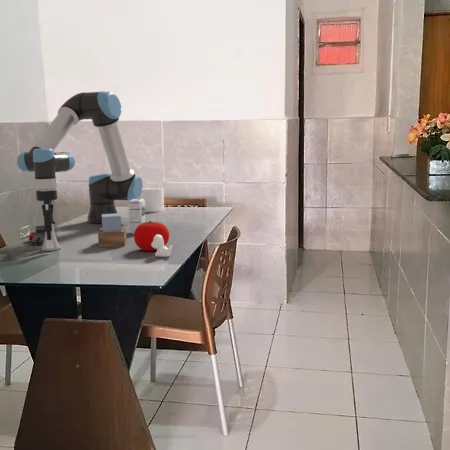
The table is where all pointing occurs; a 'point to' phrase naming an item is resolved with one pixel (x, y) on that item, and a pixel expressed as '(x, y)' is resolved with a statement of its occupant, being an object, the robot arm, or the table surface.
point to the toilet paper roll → (153, 199)
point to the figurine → (161, 247)
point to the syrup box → (136, 213)
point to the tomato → (150, 234)
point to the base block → (112, 238)
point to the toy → (37, 235)
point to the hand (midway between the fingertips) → (50, 244)
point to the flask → (56, 244)
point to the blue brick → (111, 222)
